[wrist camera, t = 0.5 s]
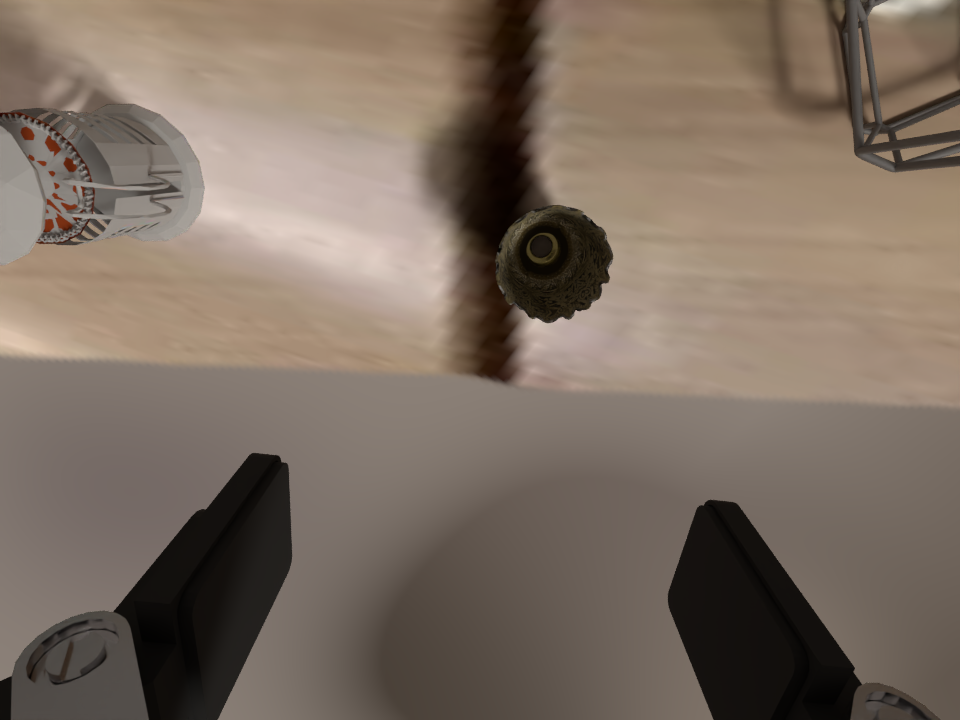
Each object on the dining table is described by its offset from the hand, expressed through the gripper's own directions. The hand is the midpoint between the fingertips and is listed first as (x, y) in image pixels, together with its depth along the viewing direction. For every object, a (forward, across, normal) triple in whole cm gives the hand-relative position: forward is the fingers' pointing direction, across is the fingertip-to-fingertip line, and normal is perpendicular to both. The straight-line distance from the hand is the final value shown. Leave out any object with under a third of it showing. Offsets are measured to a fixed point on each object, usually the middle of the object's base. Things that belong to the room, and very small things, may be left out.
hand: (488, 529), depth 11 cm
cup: (+31, -4, -2) cm, 31 cm away
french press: (+31, +26, -3) cm, 41 cm away
